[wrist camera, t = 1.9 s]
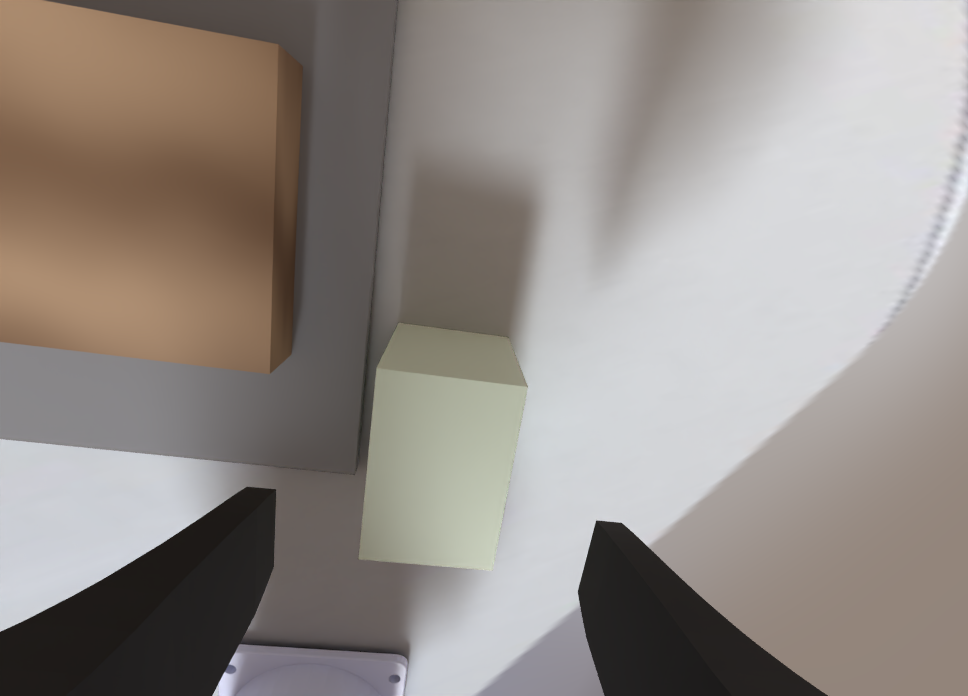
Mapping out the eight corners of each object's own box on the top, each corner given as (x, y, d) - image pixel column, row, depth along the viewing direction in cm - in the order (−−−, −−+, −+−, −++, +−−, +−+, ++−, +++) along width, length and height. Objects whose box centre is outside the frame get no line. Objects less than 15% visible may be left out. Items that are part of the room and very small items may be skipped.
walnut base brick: (291, 354, 16) (269, 374, 14) (10, 319, 16) (-52, 335, 14) (302, 66, 14) (278, 44, 12) (-31, 5, 13) (-115, -29, 11)
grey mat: (357, 467, 18) (354, 474, 18) (-36, 427, 17) (-50, 433, 17) (405, -89, 13) (403, -101, 13) (-146, -210, 12) (-172, -228, 12)
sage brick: (483, 478, 19) (492, 570, 14) (383, 468, 19) (358, 559, 14) (508, 336, 17) (527, 387, 13) (398, 321, 17) (376, 368, 12)
